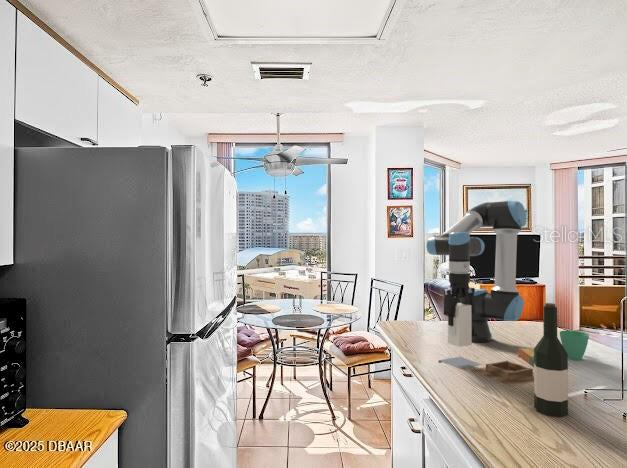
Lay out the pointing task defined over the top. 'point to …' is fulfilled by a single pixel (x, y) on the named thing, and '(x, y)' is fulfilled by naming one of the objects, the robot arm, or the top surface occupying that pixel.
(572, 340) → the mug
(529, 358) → the carton
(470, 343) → the cream block
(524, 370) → the pocket tray
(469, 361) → the slate mat
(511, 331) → the top surface
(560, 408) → the wine bottle
